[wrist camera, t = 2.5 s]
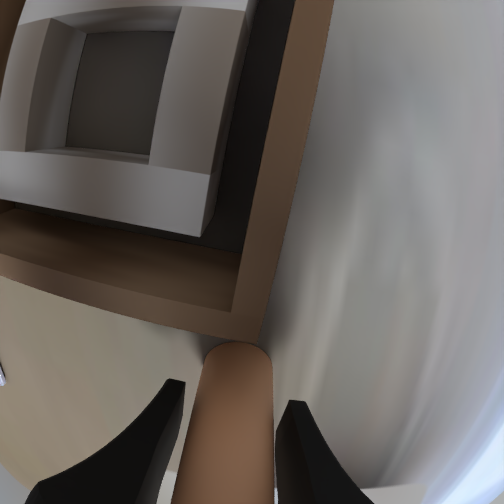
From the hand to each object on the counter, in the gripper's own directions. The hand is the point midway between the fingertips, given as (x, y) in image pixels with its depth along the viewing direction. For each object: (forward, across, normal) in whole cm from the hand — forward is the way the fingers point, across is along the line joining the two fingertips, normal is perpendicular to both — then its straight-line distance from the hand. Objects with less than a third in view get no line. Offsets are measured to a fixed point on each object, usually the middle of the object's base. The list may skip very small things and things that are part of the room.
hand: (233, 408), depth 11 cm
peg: (+2, 0, 0) cm, 2 cm away
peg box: (+2, +6, -10) cm, 12 cm away
